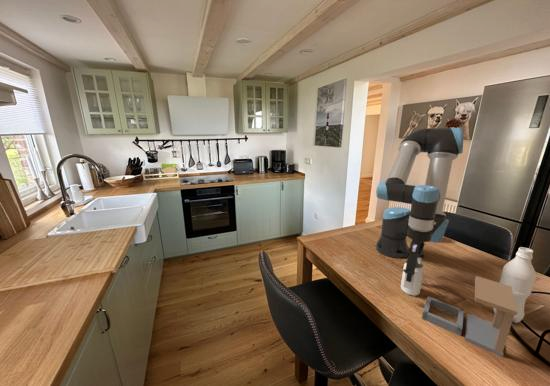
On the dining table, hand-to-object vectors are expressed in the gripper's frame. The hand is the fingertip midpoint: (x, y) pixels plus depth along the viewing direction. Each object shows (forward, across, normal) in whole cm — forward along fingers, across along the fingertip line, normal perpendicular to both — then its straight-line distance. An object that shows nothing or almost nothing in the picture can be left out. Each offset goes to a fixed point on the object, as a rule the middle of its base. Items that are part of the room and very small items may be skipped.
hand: (411, 279), depth 85 cm
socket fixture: (+5, -8, -15) cm, 18 cm away
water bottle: (+5, +6, -27) cm, 28 cm away
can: (+6, 0, 0) cm, 6 cm away
